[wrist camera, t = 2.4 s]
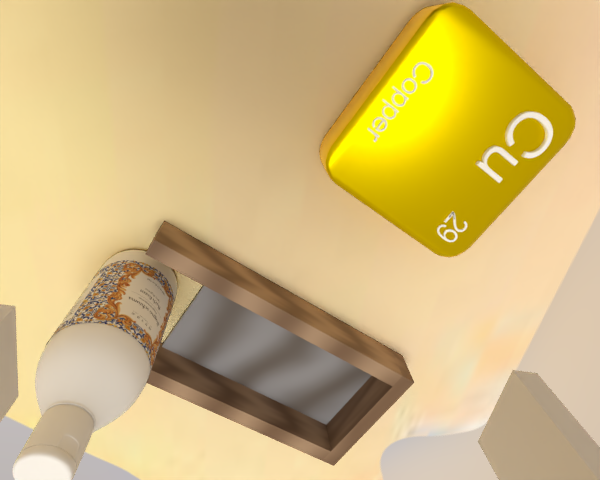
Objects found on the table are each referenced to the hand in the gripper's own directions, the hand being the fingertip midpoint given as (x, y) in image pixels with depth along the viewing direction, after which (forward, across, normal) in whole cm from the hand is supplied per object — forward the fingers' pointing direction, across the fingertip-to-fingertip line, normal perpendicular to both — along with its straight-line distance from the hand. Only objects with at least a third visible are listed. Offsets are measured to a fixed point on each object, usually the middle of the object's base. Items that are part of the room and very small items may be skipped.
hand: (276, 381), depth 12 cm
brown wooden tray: (+28, +3, -19) cm, 33 cm away
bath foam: (+28, -9, -14) cm, 32 cm away
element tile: (+28, +14, +4) cm, 31 cm away
